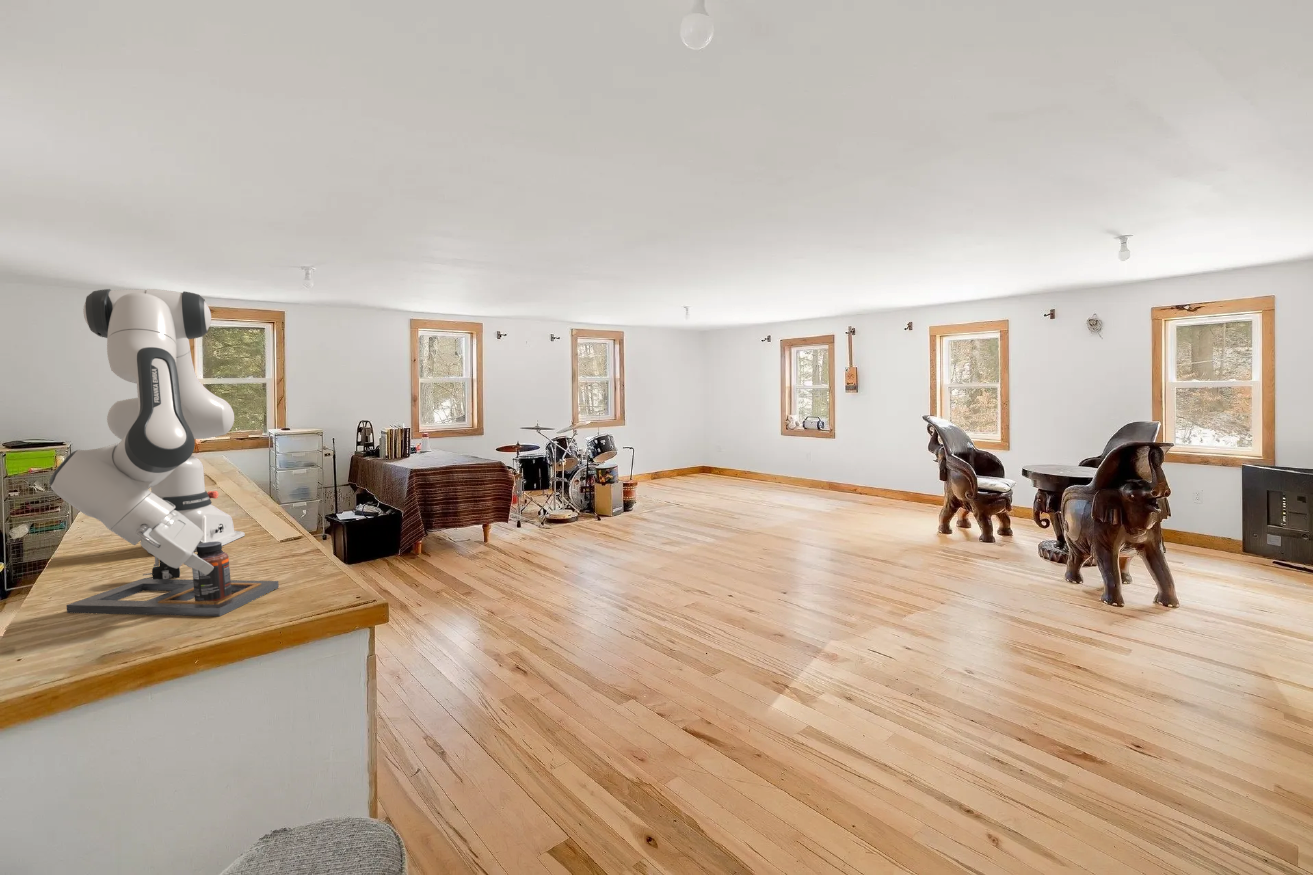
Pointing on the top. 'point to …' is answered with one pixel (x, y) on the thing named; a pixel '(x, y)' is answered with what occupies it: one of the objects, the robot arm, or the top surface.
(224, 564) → the supplement bottle
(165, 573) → the push button
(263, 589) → the grey rectangular frame
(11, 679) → the top surface
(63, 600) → the top surface
